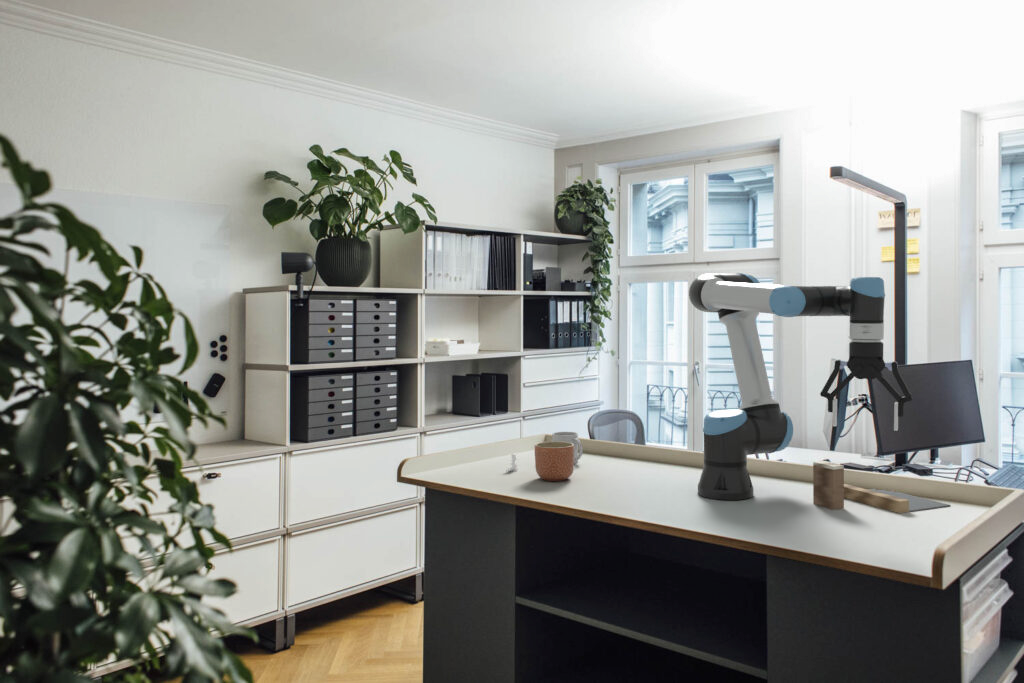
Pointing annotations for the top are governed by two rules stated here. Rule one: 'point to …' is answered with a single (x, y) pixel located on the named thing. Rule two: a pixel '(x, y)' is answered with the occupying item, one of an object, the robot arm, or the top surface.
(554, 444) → the planter
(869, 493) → the rail
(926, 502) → the mat
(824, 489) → the slab
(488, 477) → the top surface
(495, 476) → the top surface
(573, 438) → the mug
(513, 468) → the figurine
